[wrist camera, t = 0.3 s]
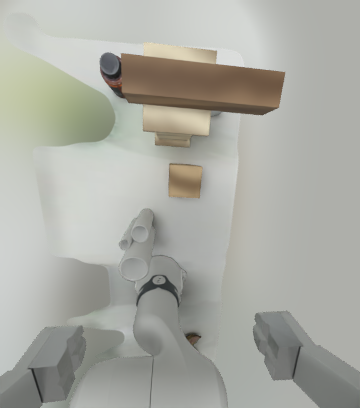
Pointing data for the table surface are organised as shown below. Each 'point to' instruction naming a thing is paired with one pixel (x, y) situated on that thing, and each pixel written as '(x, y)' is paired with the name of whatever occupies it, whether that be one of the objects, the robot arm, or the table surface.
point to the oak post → (184, 180)
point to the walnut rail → (200, 85)
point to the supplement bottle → (112, 72)
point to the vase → (137, 247)
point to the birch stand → (173, 116)
